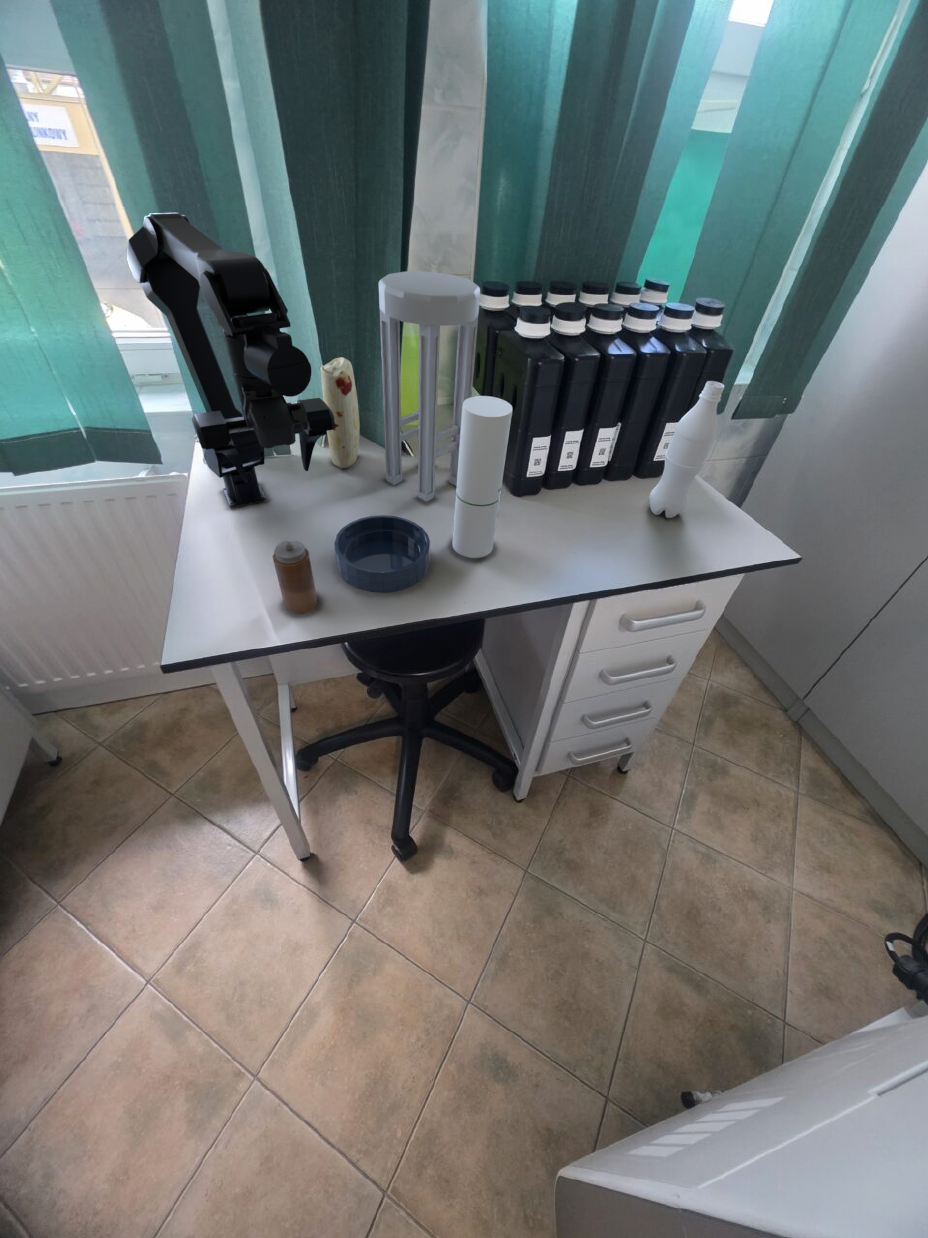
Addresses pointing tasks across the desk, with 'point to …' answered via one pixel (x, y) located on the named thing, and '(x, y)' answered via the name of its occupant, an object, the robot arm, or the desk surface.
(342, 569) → the bowl
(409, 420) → the stool
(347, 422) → the food model
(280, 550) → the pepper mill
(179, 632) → the desk surface
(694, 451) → the water bottle
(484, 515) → the cylindrical container
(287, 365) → the robot arm
